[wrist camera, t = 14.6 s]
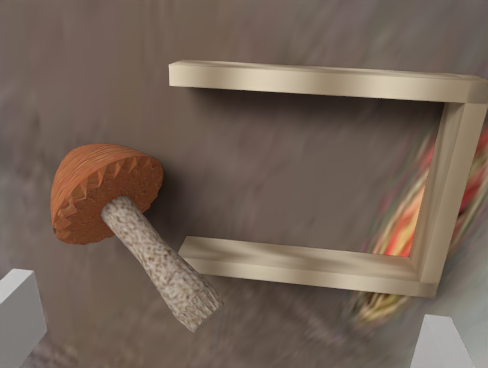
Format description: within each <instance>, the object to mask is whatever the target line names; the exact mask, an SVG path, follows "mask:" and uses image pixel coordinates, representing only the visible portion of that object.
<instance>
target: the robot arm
mask: <svg viewBox="0 0 488 368" xmlns="http://www.w3.org/2000/svg"><path fill="white" fill-rule="evenodd" d="M46 332H47V328H46V323H45V319H44V314H43V310H42V305H41V300H40V296H39V291H38V287H37V282H36V278H35V273H34V271H30V270H21V269H12V270H11V271H10V272H9V273H8V274H7V275H6V276H5V277H4V278H3V279H2V280H0V368H19V367H20V366H21V364H22V363H23V362H24V360H25V359H26V358H27V357H28V355H29V354H30V353H31V351H32V350H33V349H34V348H35V346H36V345H37V344H38V342H39V341H40V340H41V339H42V337H43V336H44V335H45V333H46ZM410 368H475V366H474V364H473V362H472V360H471V358H470V356H469V354H468V352H467V350H466V348H465V346H464V344H463V341H462V339H461V337H460V335H459V333H458V331H457V329H456V327H455V325H454V323H453V321H452V319H451V317H445V316H436V315H427V314H425V317H424V320H423V324H422V327H421V331H420V334H419V338H418V341H417V345H416V348H415V352H414V356H413V359H412V363H411V366H410Z"/></svg>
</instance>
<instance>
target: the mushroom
mask: <svg viewBox="0 0 488 368" xmlns="http://www.w3.org/2000/svg"><path fill="white" fill-rule="evenodd" d="M162 182H163V168H162V165H161V164H160V162H159V161H158V160H156V159H155V158H153V157H151V156H149V155H146V154H144V153H142V152H139V151H137V150H134V149H132V148H128V147H125V146H121V145H115V144H89V145H84V146H80V147H77V148H75V149H73V150H72V151H70V152H69V153H68V154H67V155H66V156H65V158H64V159H63V160H62V162H61V164H60V166H59V168H58V170H57V172H56V174H55V178H54V182H53V186H52V190H51V206H50V207H51V217H52V224H53V230H54V233H55V235H56V237H57V238H58V239H59V240H61V241H63V242H65V243H69V244H81V245H86V244H88V243H93V242H100V241H101V240H103V239H105V238H107V237H112V236H114V235H115V234H116V235H117V236H118V238H119V239H120V240H121V241H122V242H123V243H124V244H125V245H126V247H127V248H128V249H129V250H130V251H131V252H132V253H133V255H134V256H135V257H136V258H137V259H138V260H139V261H140V263H141V264H142V266H143V267H144V269H145V271H146V272H147V274H148V275H149V277H150V278H151V280H152V281H153V283H154V285H155V286H156V288H157V289H158V291H159V292H160V294H161V295H162V297H163V299H164V300H165V302H166V303H167V305H168V306H169V308H170V309H171V311H172V313H173V314H174V316H175V317H176V319H177V320H179V321H180V322H181V323H182V324H183V325H185V326H186V327H187V328H188V329H190V330H191V331H192V332H193V333H194V332H196V331H197V330H199V329H200V328H201V327H203V326H204V325H205V324H206V323H207V322H208V321H209V320H210V319H211V318H212V317H213V316H215V315H216V313H217V312H218V311H219V310H220V309H221V308H222V306H223V305H224V303H223V302H222V300H221V298H220V297H219V295H218V294H217V292H216V290H215V289H214V287H213V286H212V285H211V284H210V283H209V282H208V281H207V280H206V279H205V278H204V277H202V276H201V275H200V274H199V273H198V272H197V271H196V270H195V269H194V268H193V267H192V266H191V265H190V264H189V263H187V262H186V261H185V260H184V259H183V258H182V257H181V256H180V255H179V254H178V253H177V252H176V251H175V250H173V249H172V248H171V247H170V246H169V245H168V244H167V243H166V242H165V241H164V240H163V238H162V237H161V236H160V235H159V233H158V232H157V231H156V230H155V229H154V227H153V226H152V225H151V224H150V222H149V221H148V220H147V219H146V217H145V216H144V215H143V214H142V213H143V212H145V211H146V210H147V209H149V208H150V204H151V203H152V202H153V200H154V199H155V198H156V197H157V196H158V191H159V189H160V187H161V186H162Z"/></svg>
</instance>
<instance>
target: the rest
mask: <svg viewBox="0 0 488 368" xmlns="http://www.w3.org/2000/svg"><path fill="white" fill-rule="evenodd" d="M169 79H170V86H185V87H202V88H219V89H236V90H253V91H270V92H287V93H304V94H321V95H338V96H356V97H373V98H390V99H407V100H424V101H441V102H445V104H444V109H443V113H442V117H441V121H440V126H439V130H438V134H437V139H436V143H435V147H434V151H433V156H432V160H431V164H430V169H429V173H428V177H427V181H426V186H425V190H424V194H423V199H422V203H421V207H420V211H419V216H418V220H417V224H416V229H415V233H414V237H413V241H412V246H411V250H410V254H409V257H401V256H390V255H380V254H370V253H359V252H349V251H339V250H328V249H318V248H308V247H297V246H287V245H277V244H266V243H256V242H246V241H235V240H225V239H215V238H204V237H194V236H186V238H185V240H184V242H183V244H182V246H181V248H180V250H179V252H178V254H179V255H180V256H181V257H182V258H183V259H184V260H185V261H186V262H187V263H189V264H190V265H191V266H192V267H193V268H194V269H195V270H196V271H197V272H198V273H200V274H209V275H218V276H228V277H237V278H247V279H256V280H266V281H275V282H285V283H294V284H303V285H313V286H322V287H332V288H341V289H351V290H360V291H369V292H379V293H388V294H398V295H407V296H417V297H426V298H435V296H436V292H437V289H438V285H439V282H440V278H441V274H442V271H443V267H444V264H445V260H446V256H447V253H448V249H449V245H450V242H451V238H452V235H453V231H454V227H455V224H456V220H457V217H458V213H459V209H460V206H461V202H462V198H463V195H464V191H465V188H466V184H467V180H468V177H469V173H470V170H471V166H472V162H473V159H474V155H475V151H476V148H477V144H478V141H479V137H480V133H481V130H482V126H483V123H484V119H485V115H486V112H487V108H488V80H487V79H484V78H481V77H478V76H475V75H469V74H450V73H430V72H411V71H392V70H372V69H353V68H334V67H315V66H295V65H276V64H257V63H238V62H218V61H199V60H180V61H178V62H175V63H172V64H169Z"/></svg>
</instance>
